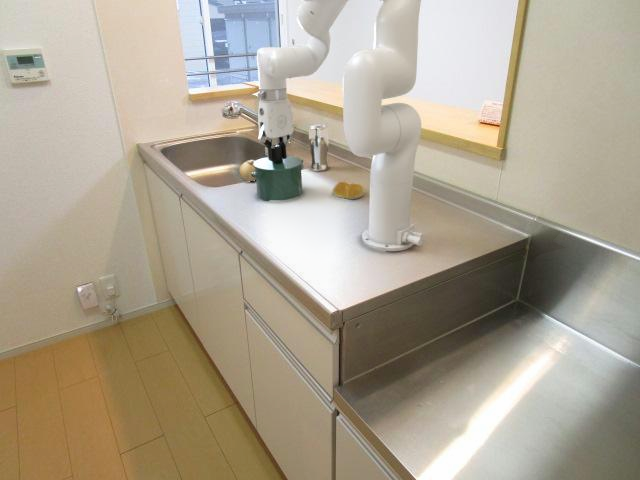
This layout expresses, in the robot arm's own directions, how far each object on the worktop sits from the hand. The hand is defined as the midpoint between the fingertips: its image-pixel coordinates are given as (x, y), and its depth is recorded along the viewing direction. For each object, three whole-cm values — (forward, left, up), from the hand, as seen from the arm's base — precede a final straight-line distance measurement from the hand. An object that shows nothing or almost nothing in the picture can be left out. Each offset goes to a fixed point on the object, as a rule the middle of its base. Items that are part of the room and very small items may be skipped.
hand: (277, 158), depth 134 cm
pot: (0, 0, -11) cm, 11 cm away
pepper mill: (+8, -27, -11) cm, 30 cm away
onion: (+18, -4, -11) cm, 22 cm away
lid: (0, 0, -2) cm, 2 cm away
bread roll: (-17, -12, -11) cm, 24 cm away
